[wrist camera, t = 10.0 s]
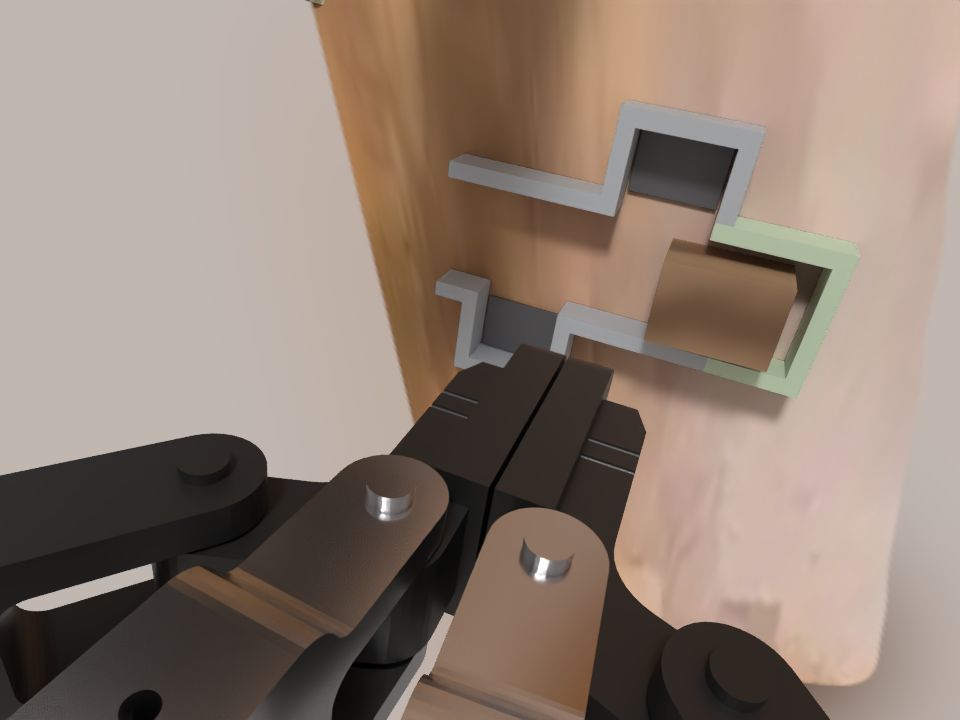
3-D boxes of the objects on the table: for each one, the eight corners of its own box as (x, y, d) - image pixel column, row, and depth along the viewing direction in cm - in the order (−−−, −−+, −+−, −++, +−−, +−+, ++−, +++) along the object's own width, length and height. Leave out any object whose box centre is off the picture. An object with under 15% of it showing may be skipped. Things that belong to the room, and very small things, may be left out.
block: (673, 237, 41) (664, 260, 37) (794, 264, 39) (797, 291, 35) (653, 311, 43) (643, 339, 39) (766, 339, 41) (766, 372, 38)
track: (474, 69, 40) (459, 72, 38) (894, 151, 35) (903, 160, 33) (441, 343, 50) (427, 357, 48) (767, 443, 44) (767, 464, 42)
